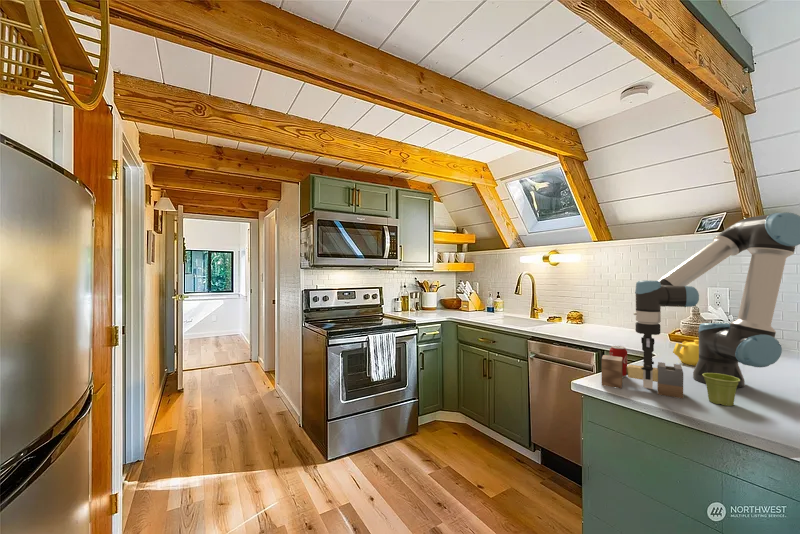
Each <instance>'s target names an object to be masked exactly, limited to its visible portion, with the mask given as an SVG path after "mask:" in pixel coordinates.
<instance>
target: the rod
mask: <svg viewBox="0 0 800 534" xmlns="http://www.w3.org/2000/svg"><path fill="white" fill-rule="evenodd" d="M641 367H644V366H643V365H637V364H628V363H627V366H626V375H627V377H628V379H637V380H642V381H643V369H641ZM666 370H669V369H666ZM674 371H675V370H674ZM653 382H656V383H657V382H658V368H657V367H653Z"/></svg>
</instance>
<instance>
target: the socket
mask: <svg viewBox="0 0 800 534" xmlns="http://www.w3.org/2000/svg"><path fill="white" fill-rule="evenodd" d="M622 362H623V357H617V356H610V355H607V354H603V355H602V357H601V386H602V387H603V386H604V387H609V388H614V387H616V389H620V390H621V389H622V388H623V378H622Z"/></svg>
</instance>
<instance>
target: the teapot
mask: <svg viewBox="0 0 800 534" xmlns="http://www.w3.org/2000/svg"><path fill="white" fill-rule="evenodd" d="M672 354H674V355H675V356H677V357H678V360H679V361H681V363H683V364H685V365H689V366H693V367H696V365H697V362H698V360H699V339H693V341H686V340H684V341H682V342H681V343H678V342H675V346H674V348H673V351H672Z"/></svg>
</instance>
